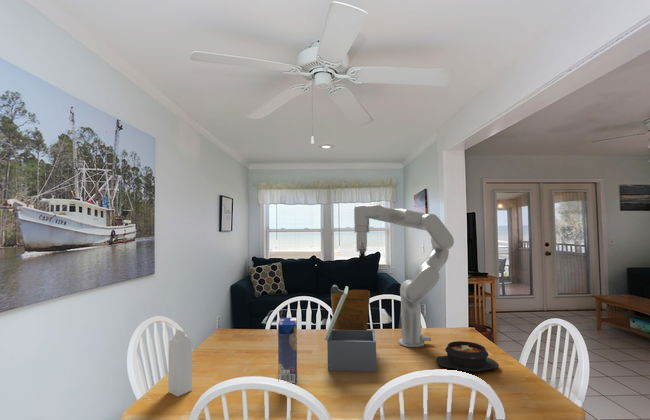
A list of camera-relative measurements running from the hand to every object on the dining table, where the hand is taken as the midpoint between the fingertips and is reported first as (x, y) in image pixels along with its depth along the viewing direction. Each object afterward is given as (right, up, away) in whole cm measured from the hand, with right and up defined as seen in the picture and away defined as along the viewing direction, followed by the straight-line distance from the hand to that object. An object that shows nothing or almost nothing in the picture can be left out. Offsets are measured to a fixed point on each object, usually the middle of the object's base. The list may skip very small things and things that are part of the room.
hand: (362, 263), depth 185 cm
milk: (-72, -39, -52) cm, 97 cm away
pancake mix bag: (-6, -40, -5) cm, 41 cm away
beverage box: (-34, -40, -40) cm, 66 cm away
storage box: (-7, -39, -27) cm, 48 cm away
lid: (-13, -18, -26) cm, 34 cm away
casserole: (+41, -39, -31) cm, 65 cm away
